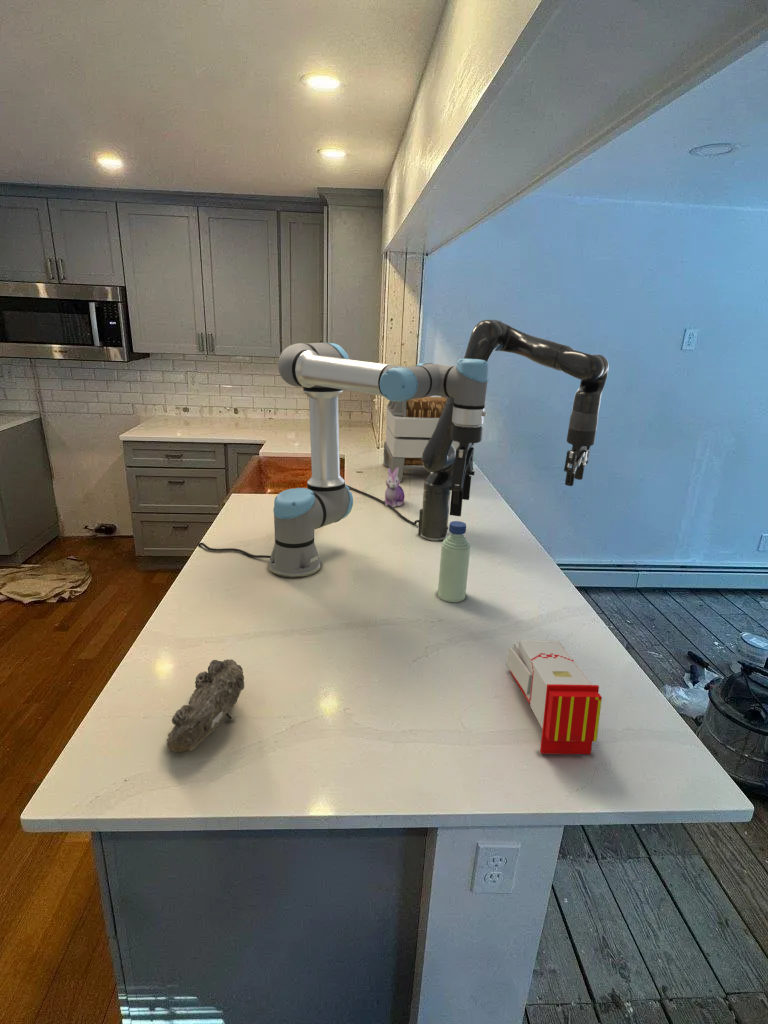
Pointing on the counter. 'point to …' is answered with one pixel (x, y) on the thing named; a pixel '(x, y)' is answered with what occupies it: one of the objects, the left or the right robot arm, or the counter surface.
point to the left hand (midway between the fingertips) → (459, 507)
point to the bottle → (453, 568)
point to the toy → (557, 696)
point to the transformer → (410, 431)
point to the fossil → (206, 705)
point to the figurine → (393, 489)
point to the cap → (457, 527)
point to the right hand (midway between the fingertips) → (573, 482)
